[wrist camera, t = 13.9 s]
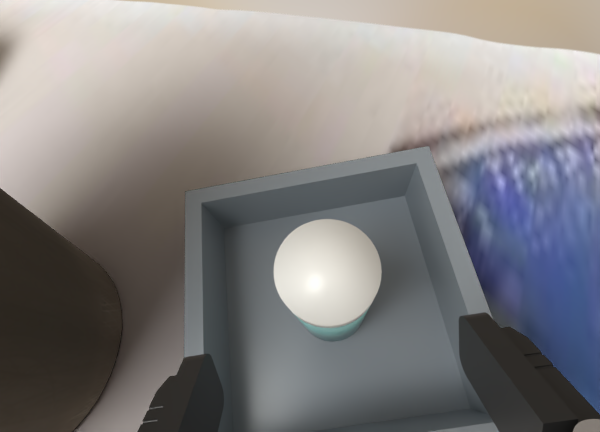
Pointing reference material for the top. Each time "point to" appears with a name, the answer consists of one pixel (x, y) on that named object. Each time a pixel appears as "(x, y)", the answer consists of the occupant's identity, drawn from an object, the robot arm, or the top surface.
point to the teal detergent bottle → (328, 277)
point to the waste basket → (51, 326)
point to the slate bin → (376, 324)
